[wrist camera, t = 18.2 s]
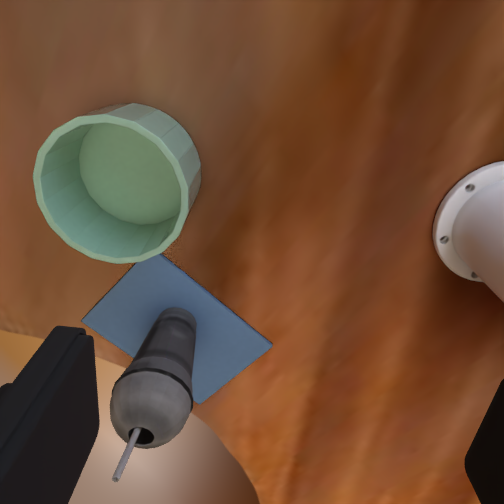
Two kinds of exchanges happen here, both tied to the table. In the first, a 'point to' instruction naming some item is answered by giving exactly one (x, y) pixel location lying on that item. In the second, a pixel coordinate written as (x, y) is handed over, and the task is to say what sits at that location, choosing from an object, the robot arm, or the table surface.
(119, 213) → the bucket
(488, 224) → the robot arm
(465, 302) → the table surface
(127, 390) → the beverage cup
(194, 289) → the desk mat
